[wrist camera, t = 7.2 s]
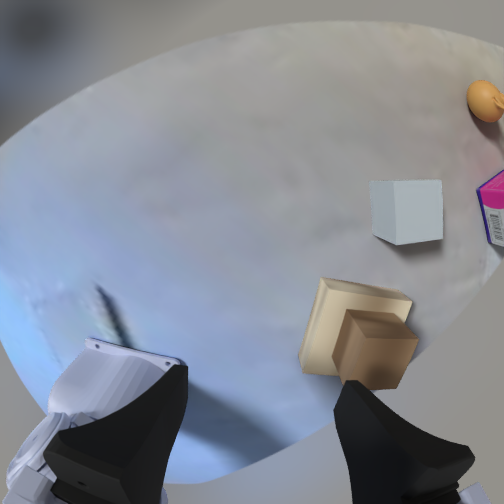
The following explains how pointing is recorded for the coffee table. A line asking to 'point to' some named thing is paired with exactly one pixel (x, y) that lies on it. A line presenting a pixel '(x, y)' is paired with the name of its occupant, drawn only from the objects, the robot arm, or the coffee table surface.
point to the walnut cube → (373, 349)
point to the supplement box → (493, 208)
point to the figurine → (485, 101)
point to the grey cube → (407, 210)
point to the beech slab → (332, 314)
